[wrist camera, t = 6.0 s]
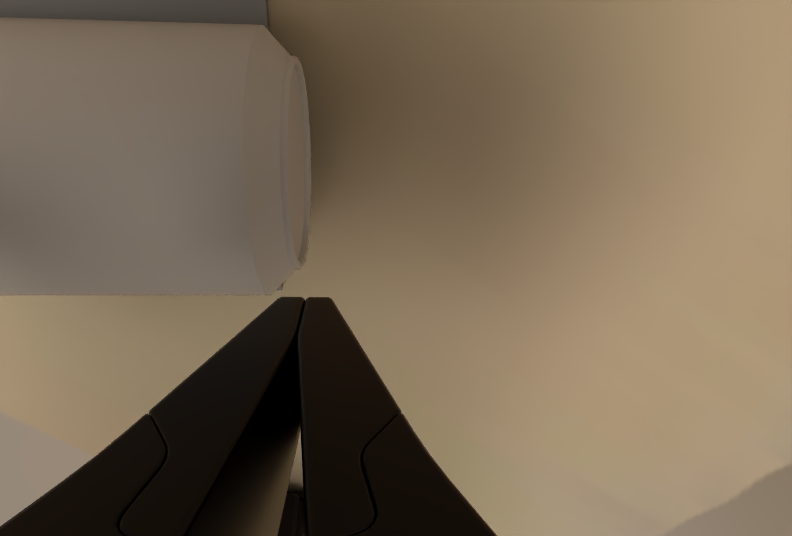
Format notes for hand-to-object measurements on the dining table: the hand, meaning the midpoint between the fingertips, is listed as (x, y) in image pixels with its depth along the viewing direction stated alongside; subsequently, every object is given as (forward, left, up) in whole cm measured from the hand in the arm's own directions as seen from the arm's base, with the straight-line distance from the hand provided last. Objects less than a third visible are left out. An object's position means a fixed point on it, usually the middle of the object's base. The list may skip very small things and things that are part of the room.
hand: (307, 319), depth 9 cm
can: (0, +1, -8) cm, 8 cm away
